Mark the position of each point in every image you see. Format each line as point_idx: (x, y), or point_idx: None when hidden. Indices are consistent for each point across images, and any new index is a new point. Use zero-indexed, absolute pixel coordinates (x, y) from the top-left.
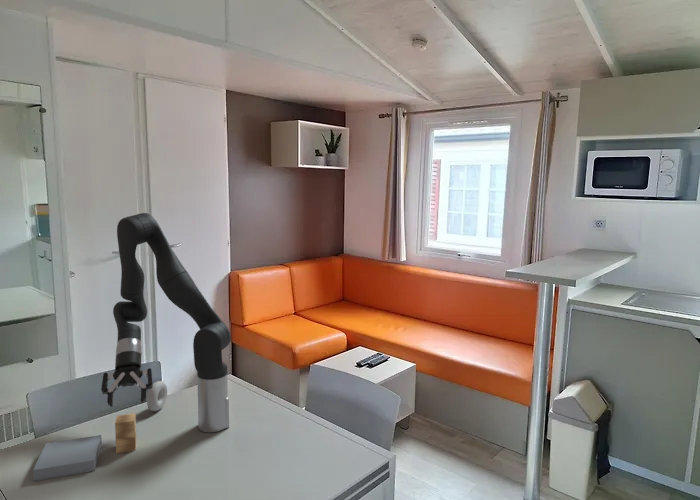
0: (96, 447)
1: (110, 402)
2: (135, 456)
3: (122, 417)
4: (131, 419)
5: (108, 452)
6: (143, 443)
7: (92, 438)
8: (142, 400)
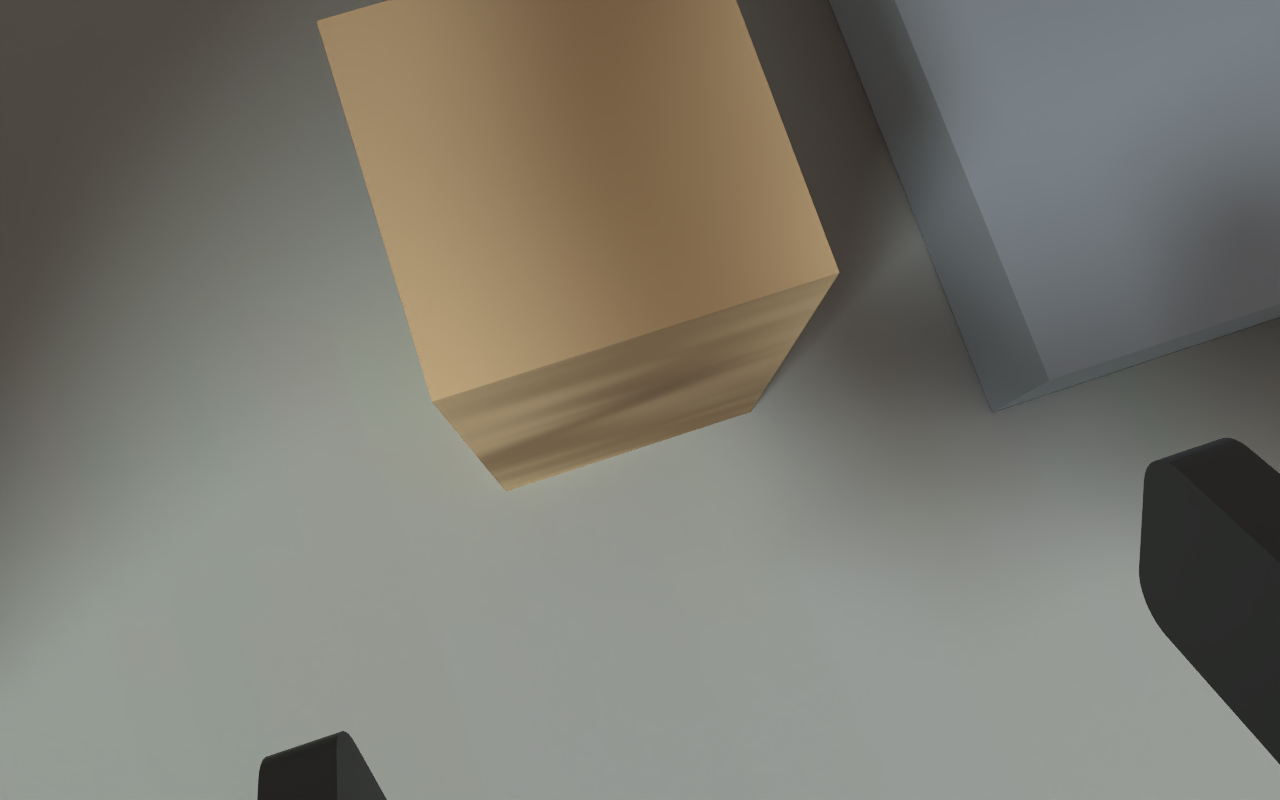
0: (917, 8)
1: (1236, 466)
2: None
3: (661, 183)
4: (406, 83)
5: None
6: (380, 438)
7: (1130, 267)
8: (290, 749)
